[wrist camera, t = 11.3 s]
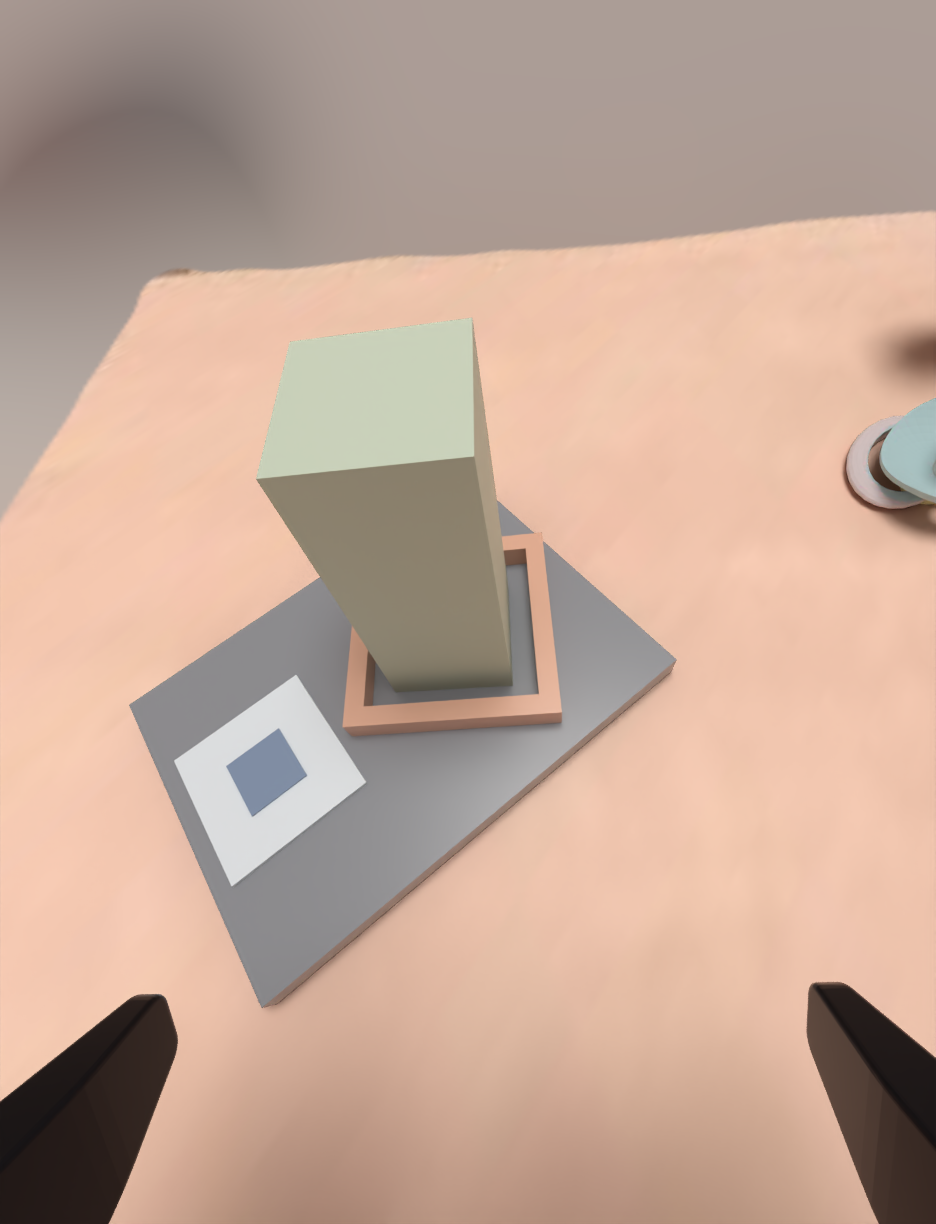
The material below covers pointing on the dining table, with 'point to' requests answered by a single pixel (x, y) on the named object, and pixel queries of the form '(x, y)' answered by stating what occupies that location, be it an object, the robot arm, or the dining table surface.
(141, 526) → the dining table surface
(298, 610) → the baseplate
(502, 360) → the dining table surface
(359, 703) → the collar
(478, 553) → the pillar
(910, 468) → the pacifier
